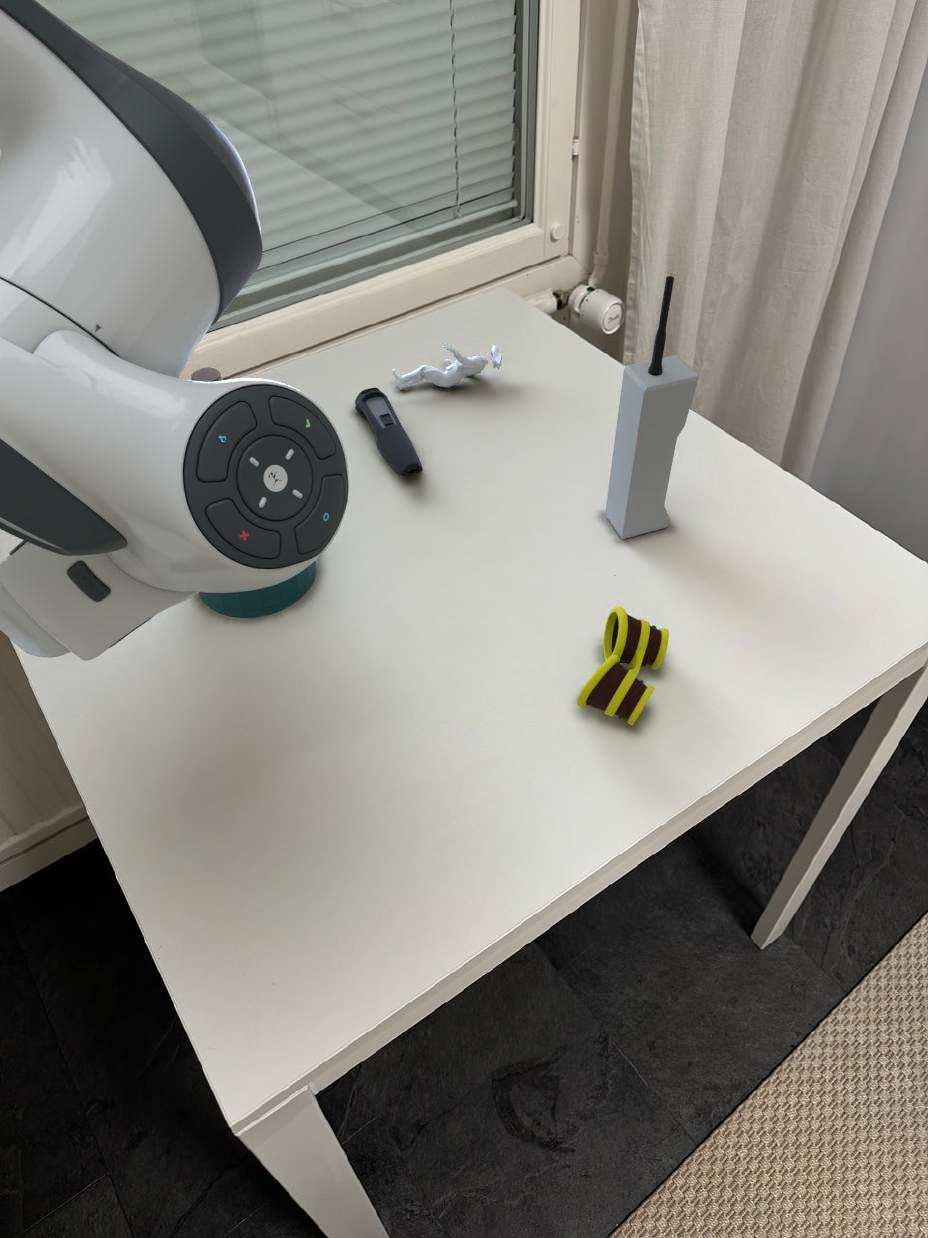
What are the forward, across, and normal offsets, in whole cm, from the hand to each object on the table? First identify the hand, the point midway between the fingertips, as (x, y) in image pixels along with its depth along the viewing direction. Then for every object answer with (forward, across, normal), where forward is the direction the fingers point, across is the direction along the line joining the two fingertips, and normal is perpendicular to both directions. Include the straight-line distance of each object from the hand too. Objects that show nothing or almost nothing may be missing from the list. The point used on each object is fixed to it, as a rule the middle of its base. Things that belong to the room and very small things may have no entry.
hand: (120, 521), depth 59 cm
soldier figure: (+28, -43, +14) cm, 53 cm away
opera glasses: (-7, -20, +34) cm, 40 cm away
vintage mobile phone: (+3, -37, +31) cm, 48 cm away
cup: (+18, -9, +13) cm, 24 cm away
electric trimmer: (+24, -31, +14) cm, 42 cm away
